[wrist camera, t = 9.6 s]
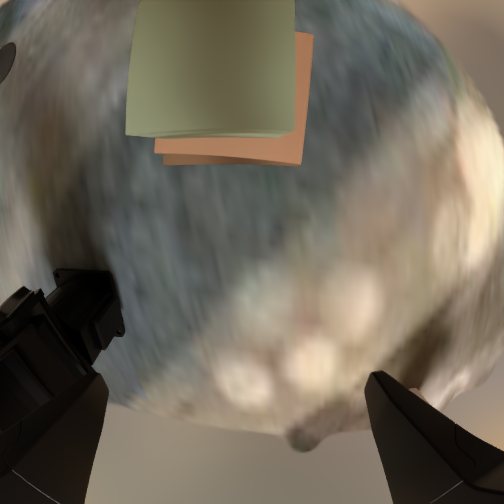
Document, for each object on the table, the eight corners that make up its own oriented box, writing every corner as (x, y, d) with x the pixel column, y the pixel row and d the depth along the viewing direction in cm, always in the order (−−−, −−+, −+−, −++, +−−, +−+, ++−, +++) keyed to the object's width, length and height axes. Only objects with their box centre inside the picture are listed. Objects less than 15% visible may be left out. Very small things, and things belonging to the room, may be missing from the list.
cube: (169, 139, 12) (125, 134, 7) (174, 46, 10) (139, 1, 5) (276, 138, 12) (294, 130, 7) (278, 43, 10) (294, -8, 5)
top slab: (171, 152, 15) (154, 153, 12) (184, 44, 12) (172, 25, 9) (291, 161, 15) (300, 164, 12) (302, 53, 13) (313, 34, 10)
